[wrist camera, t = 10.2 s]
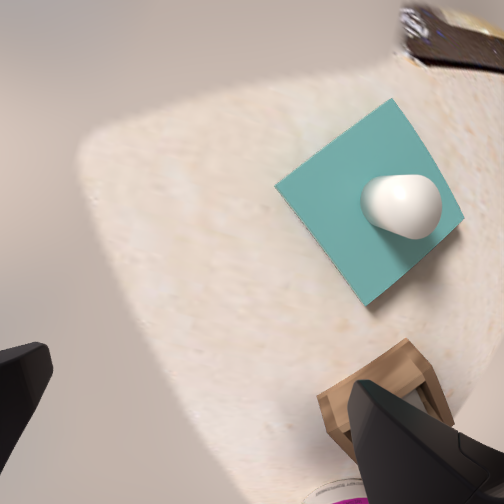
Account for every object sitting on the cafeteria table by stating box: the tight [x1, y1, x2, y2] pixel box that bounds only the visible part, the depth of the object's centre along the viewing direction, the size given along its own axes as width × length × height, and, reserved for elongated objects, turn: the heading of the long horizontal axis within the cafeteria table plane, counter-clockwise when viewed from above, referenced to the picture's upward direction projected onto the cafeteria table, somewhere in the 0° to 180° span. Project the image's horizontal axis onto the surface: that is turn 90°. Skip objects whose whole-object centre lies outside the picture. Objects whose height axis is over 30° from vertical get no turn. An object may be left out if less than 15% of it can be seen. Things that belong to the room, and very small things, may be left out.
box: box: [317, 338, 455, 465], centre depth 20 cm, size 8×8×4 cm
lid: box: [274, 98, 464, 306], centre depth 16 cm, size 9×9×6 cm
